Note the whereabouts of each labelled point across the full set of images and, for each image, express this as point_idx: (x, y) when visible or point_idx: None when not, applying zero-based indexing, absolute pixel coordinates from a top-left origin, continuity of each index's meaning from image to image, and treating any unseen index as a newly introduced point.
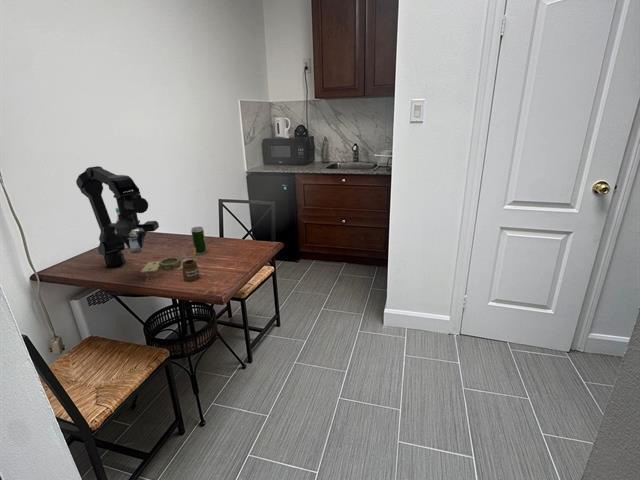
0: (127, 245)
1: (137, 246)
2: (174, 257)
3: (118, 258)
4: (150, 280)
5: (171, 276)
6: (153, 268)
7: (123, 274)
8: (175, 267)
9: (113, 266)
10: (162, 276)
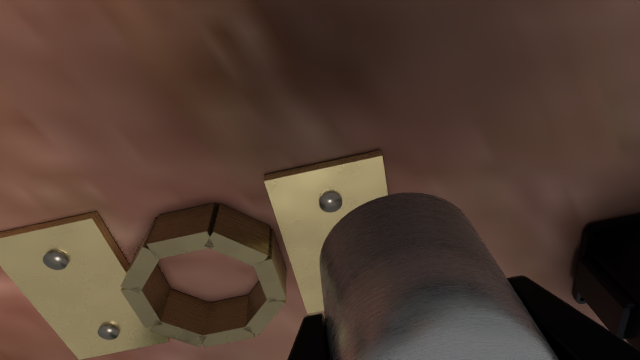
0: (578, 317)
1: (350, 312)
2: (210, 341)
3: (631, 283)
4: (202, 9)
5: (60, 100)
6: (306, 210)
7: (515, 117)
8: (143, 240)
9: (635, 220)
10: (146, 96)
